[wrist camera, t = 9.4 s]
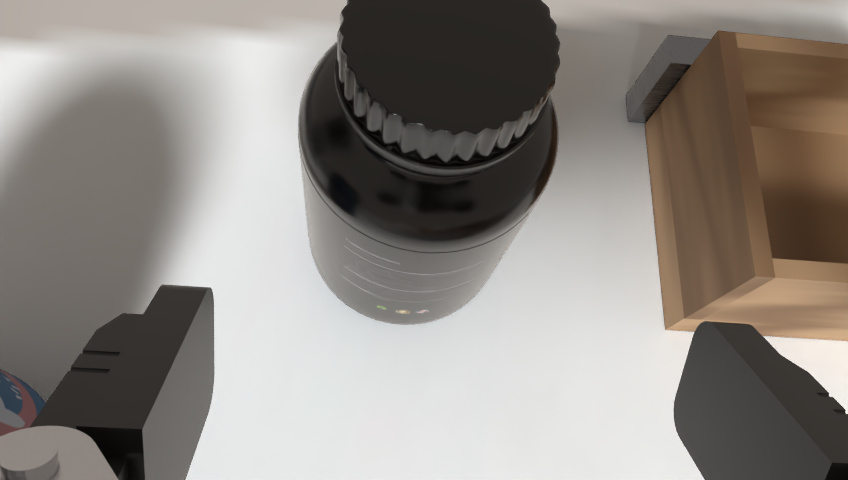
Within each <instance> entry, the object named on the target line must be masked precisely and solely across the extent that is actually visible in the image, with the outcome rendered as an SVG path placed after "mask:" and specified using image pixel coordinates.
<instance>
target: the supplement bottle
mask: <svg viewBox="0 0 848 480" xmlns="http://www.w3.org/2000/svg"><path fill="white" fill-rule="evenodd" d="M556 27H557V25H556V24H555V22H554V21H553V20H552V18H551V17H550V10H549V7H548V6H547V5H546V4H544V3H543V2H542V1H541V0H347V5H346V6H345V7H344V9H343V10H342V12H341V15H340V28H339V31H338V35H337V42H336V43H335V44H334V45H333V46H332V47H331V48H330V49H329V50H328V51H327V52H326V53H325V54H324V56H323V57H322V58H321V59H320V61H319V62H318V63H317V65H316V67H315V68H314V70H313V71H312V73H311V75H310V77H309V79H308V81H307V84H306V86H305V89H304V92H303V95H302V99H301V103H300V110H299V121H298V138H299V148H300V158H301V168H302V177H303V187H304V196H305V206H306V216H307V225H308V235H309V241H310V247H311V251H312V255H313V258H314V261H315V264H316V266H317V269H318V271H319V273H320V275H321V276H322V278H323V280H324V281H325V283H326V284H327V286H328V287H329V288H330V289H331V291H332V292H333V293H334V294H335V295H336V296H337V297H338V298H339V299H340V300H341V301H342V302H344V303H345V304H346V305H348V306H349V307H351V308H352V309H354V310H355V311H357V312H359V313H361V314H363V315H365V316H367V317H370V318H372V319H375V320H378V321H382V322H386V323H392V324H403V325H408V324H421V323H426V322H431V321H435V320H438V319H441V318H443V317H445V316H448V315H450V314H452V313H453V312H455V311H457V310H459V309H460V308H461V307H463V306H464V305H466V304H467V303H468V302H469V301H470V300H471V299H472V298H473V297H474V296H475V295H476V294H477V293H478V292H479V291H480V290H481V288H482V287H483V286H484V284H485V283H486V282H487V280H488V279H489V277H490V276H491V274H492V272H493V271H494V269H495V268H496V266H497V265H498V263H499V261H500V260H501V258H502V257H503V255H504V254H505V252H506V250H507V249H508V247H509V246H510V244H511V243H512V241H513V239H514V238H515V236H516V235H517V233H518V232H519V230H520V228H521V227H522V225H523V224H524V222H525V221H526V219H527V217H528V216H529V214H530V213H531V211H532V210H533V208H534V206H535V205H536V203H537V202H538V200H539V198H540V197H541V195H542V193H543V192H544V190H545V188H546V186H547V184H548V181H549V179H550V177H551V175H552V172H553V169H554V166H555V162H556V157H557V151H558V139H559V138H558V122H557V116H556V111H555V107H554V103H553V100H552V98H551V95H550V93H551V91H552V89H553V87H554V84H555V75H556V73H557V70H558V68H559V66H560V59H559V55H558V51H559V48H560V41H559V39H558V37H557V35H556Z"/></svg>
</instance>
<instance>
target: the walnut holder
mask: <svg viewBox="0 0 848 480" xmlns="http://www.w3.org/2000/svg"><path fill="white" fill-rule="evenodd" d="M645 131H646V141H647V151H648V161H649V171H650V181H651V191H652V200H653V210H654V220H655V230H656V240H657V250H658V260H659V270H660V280H661V290H662V300H663V310H664V320H665V330H677V331H694V332H695V330H696V328H697V327H698V325H699V324H700V323H702V322H704V321H712V322H727V323H742V324H750V325H752V326H753V327H754V328H755V329H756V330H757V331H758V332H759V333H760V334H761V335H762V336H775V337H792V338H808V339H824V340H841V341H848V44H839V43H830V42H821V41H811V40H802V39H792V38H783V37H774V36H764V35H755V34H745V33H736V32H726V31H717V33H716V34H715V35H714V37H713V38H712V39H711V40H710V42H709V43H708V44H707V46H706V47H705V48H704V49H703V51H702V52H701V53H700V55H699V56H698V57H697V58H696V60H695V61H694V62H693V63H692V65H691V66H690V67H689V69H688V70H687V71H686V72H685V74H684V75H683V76H682V78H681V79H680V80H679V81H678V83H677V84H676V85H675V86H674V88H673V89H672V90H671V92H670V93H669V94H668V95H667V97H666V98H665V99H664V101H663V102H662V103H661V104H660V106H659V107H658V108H657V110H656V111H655V112H654V113H653V115H652V116H651V117H650V118H649V120H648V121H647V122H646V124H645Z"/></svg>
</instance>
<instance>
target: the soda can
mask: <svg viewBox="0 0 848 480" xmlns="http://www.w3.org/2000/svg"><path fill="white" fill-rule="evenodd" d="M45 404H46V403H45V401H44V400H43V399H42V398H41V397H40V396H39V394H38V393H37V392H36V391H34V390H33V389H32V388H31V387H30V386H29V385H27V384H26V383H25V382H23V381H22V380H20V379H18V378H17V377H15V376H13V375H11V374H9V373H7V372H5V371H3V370H1V369H0V436H3V435H5V434H8V433H11V432H14V431H17V430H21V429H25V428H29V427H30V425H31V424H32V423H33V421H34V420H35V418H36V417H37V415H38V414H39V413H40V411H41V410H42V408H43V407H44V405H45Z"/></svg>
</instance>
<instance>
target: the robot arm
mask: <svg viewBox="0 0 848 480" xmlns="http://www.w3.org/2000/svg"><path fill="white" fill-rule="evenodd" d="M213 384H214V299H213V292H212V289H211V288H208V287H192V286H177V285H161V286H160V288H159V289H158V291H157V293H156V294H155V296H154V298H153V299H152V301H151V303H150V304H149V306H148V308H147V309H146V311H145V313H144V314H143V315H142V314H126V313H123V314H121V315H120V316H118V317H117V318H115V319H113V320H112V321H110V322H109V323H107V324H105V325H104V326H102V327H101V328H99V329H98V330H97V331H96V332H95V333H94V335H93V336H92V338H91V339H90V341H89V342H88V344H87V345H86V346H85V348H84V349H83V354H80V355H79V356H78V358H77V359H76V361H75V362H74V364H73V365H72V367H71V371H70V372H69V371H68V372H67V374H66V375H65V377H64V378H63V379H62V381H61V382H60V384H59V385H58V387H57V388H56V390H55V391H54V392H53V394H52V395H51V397H50V398H49V400H48V401H47V402H46V404H45V405H44V407H43V408H42V410H41V411H40V413H39V414H38V415H37V417H36V418H35V420H34V421H33V423H32V424H31V425H30V427H29V428H25V429H21V430H17V431H14V432H11V433H8V434H5V435H3V436H0V480H185V479H186V476H187V473H188V470H189V467H190V465H191V462H192V459H193V456H194V453H195V450H196V447H197V444H198V441H199V438H200V436H201V433H202V430H203V427H204V424H205V421H206V418H207V415H208V412H209V409H210V404H211V399H212V393H213ZM674 422H675V427H676V430H677V433H678V435H679V437H680V439H681V441H682V442H683V444H684V446H685V447H686V449H687V451H688V452H689V454H690V456H691V457H692V459H693V461H694V462H695V464H696V466H697V467H698V469H699V471H700V472H701V474H702V476H703V477H704V479H705V480H848V414H845V409H844V408H843V407H842V406H841V405H840V404H839V403H838V402H837V401H836V400H835V399H834V398H833V397H829V393H828V392H827V391H826V390H825V389H824V388H823V387H822V386H821V385H820V384H819V383H818V382H817V381H816V380H815V379H814V377H813V376H812V375H811V374H810V373H808V372H807V371H805V370H804V369H802V368H800V367H799V366H797V365H796V364H794V363H792V362H791V361H789V360H788V359H786V358H785V357H783V356H781V355H780V354H779V353H778V352H777V351H776V350H775V349H774V348H773V347H772V346H771V345H770V343H769V342H768V341H767V340H766V339H765V338H764V337H763V336H762V335H761V334H760V333H759V332H758V331H757V330H756V329H755V328H754V327H753V326H752V325H750V324H742V323H727V322H712V321H704V322H702V323H700V324H699V325H698V327H697V328H696V330H695V332H694V335H693V338H692V342H691V345H690V349H689V352H688V356H687V359H686V362H685V366H684V369H683V373H682V376H681V380H680V383H679V387H678V390H677V393H676V397H675V402H674Z"/></svg>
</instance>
